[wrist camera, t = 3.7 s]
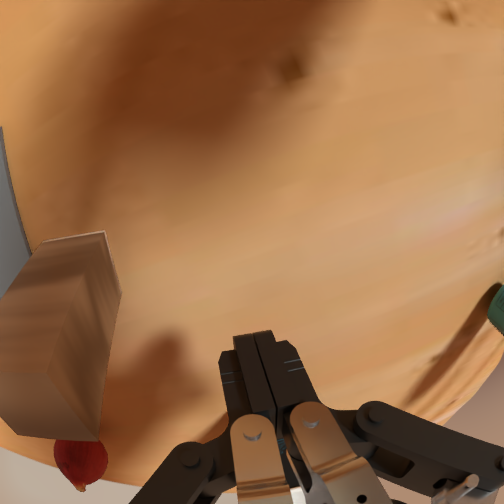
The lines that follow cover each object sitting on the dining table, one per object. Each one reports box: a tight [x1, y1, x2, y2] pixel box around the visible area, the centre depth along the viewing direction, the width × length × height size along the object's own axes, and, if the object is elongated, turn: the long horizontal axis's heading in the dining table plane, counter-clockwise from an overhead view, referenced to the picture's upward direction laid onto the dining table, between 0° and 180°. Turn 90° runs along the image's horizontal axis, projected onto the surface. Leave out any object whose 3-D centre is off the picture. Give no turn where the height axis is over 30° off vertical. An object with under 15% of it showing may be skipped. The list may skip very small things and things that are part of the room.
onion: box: [54, 439, 108, 492], centre depth 22 cm, size 6×6×8 cm
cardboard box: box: [0, 230, 122, 442], centre depth 13 cm, size 4×4×11 cm
